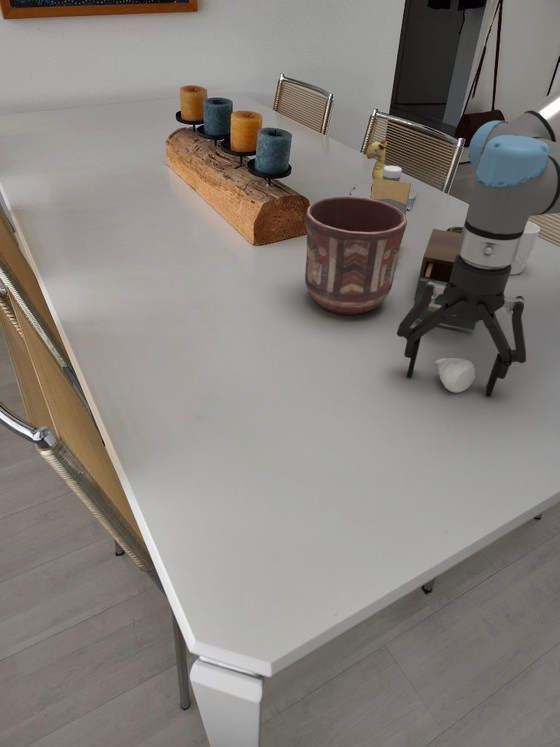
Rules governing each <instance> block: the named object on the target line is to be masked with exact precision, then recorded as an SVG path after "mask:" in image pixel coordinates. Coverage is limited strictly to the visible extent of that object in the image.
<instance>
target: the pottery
mask: <svg viewBox="0 0 560 747" xmlns="http://www.w3.org/2000/svg"><path fill="white" fill-rule="evenodd" d="M406 215H407V214H406ZM406 215H404V214H403V213H402V212H401V211H400V210H399V209H398V208H396V207H393V206H391V205H389V204H387V203H384V202H381V201H377V200H373V199H367V198H360V197H349V196H337V197H328V198H322V199H320V200H318V201H315V202H313V203H311V204H310V205H309V206H308V207H307V209H306V215H305V216H306V218H305V228H306V229H305V230H306V258H305V271H304V282H305V286H306V288H307V291H308V293H309V295H310V296H311V298H312V300H313V301H314V302H315V303H316V304H317V305H318V306H319V307H321V309H323V310H325V311H327V312H329V313H332V314H334V315H335V314H336V315H340V316H358V315H359V316H360V315H363V314H365V313H369V312H370V311H372V310H374V309H376V308H378V307H379V306H380V305H381V304H382V302H383V301H384V300H385V299H386V298H387V297H388V295H389V294H390V292H391V290H392V287H393V283H394V277H395V272H396V268H395V266H396V267H397V264H396V260H397V261H398V259H397V256H398V257H399V254H398V252H399V253H400V249H401V244H402V241H403V238H404V234H405V232H406V229H407V228H406V227H407V224H408V221H407V216H406ZM399 248H400V249H399Z"/></svg>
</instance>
